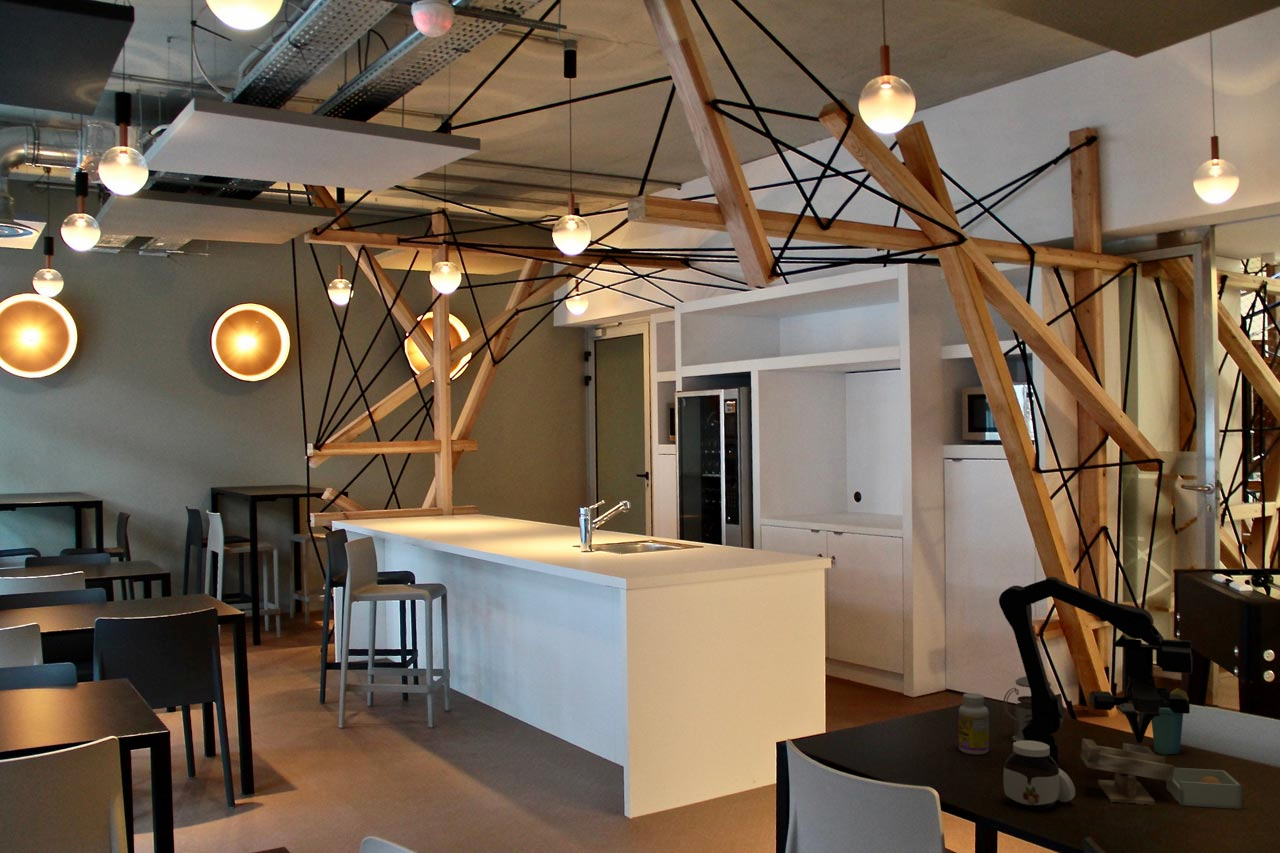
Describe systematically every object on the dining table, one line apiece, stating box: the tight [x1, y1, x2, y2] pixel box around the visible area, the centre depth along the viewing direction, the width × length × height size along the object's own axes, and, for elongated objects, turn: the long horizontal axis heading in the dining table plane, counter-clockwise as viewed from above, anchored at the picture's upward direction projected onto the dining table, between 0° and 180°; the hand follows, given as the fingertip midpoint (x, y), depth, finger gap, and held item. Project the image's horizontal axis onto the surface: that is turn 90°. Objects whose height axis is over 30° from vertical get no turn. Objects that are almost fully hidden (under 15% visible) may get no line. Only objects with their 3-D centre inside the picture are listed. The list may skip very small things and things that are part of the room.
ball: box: [1200, 776, 1221, 784], centre depth 217 cm, size 4×4×4 cm
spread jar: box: [1003, 740, 1076, 811], centre depth 215 cm, size 12×11×12 cm
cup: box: [1151, 688, 1190, 755], centre depth 250 cm, size 14×8×15 cm, turn 122°
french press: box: [1003, 635, 1052, 742], centre depth 259 cm, size 10×12×25 cm
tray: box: [1165, 767, 1243, 810], centre depth 218 cm, size 11×10×4 cm
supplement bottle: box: [958, 692, 990, 756], centre depth 250 cm, size 7×7×13 cm
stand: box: [1097, 772, 1156, 806], centre depth 220 cm, size 8×12×5 cm, turn 169°
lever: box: [1079, 738, 1175, 782], centre depth 225 cm, size 16×17×4 cm
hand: (1138, 742), depth 230 cm, fingers closed
